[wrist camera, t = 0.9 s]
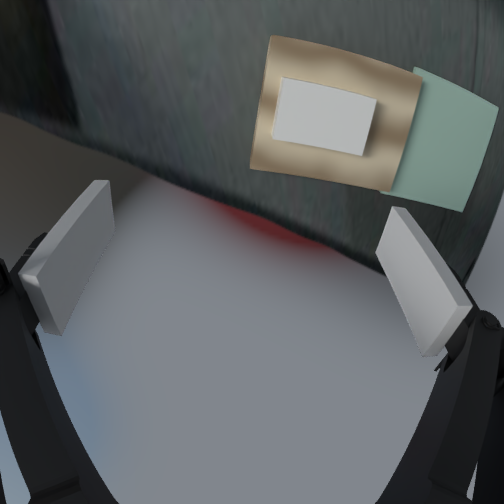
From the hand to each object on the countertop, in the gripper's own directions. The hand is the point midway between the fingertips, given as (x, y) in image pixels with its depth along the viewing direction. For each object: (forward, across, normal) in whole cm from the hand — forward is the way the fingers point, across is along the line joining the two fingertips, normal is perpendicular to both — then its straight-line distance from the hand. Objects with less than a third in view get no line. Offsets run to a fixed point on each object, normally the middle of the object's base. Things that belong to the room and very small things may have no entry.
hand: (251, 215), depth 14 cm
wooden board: (+21, +9, +2) cm, 23 cm away
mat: (+21, +24, +1) cm, 32 cm away
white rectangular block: (+19, +7, +2) cm, 20 cm away
